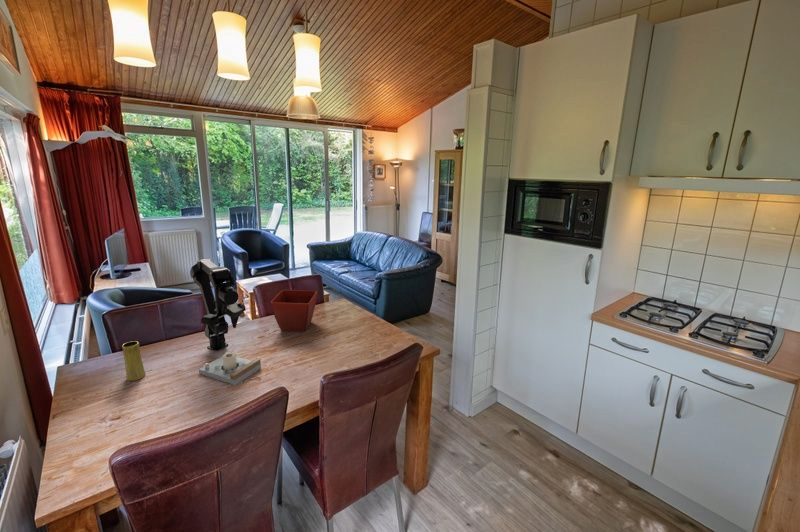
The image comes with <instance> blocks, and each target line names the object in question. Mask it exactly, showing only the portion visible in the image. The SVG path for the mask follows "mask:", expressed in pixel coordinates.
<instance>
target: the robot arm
mask: <svg viewBox="0 0 800 532" xmlns="http://www.w3.org/2000/svg"><path fill="white" fill-rule="evenodd" d="M189 274H190V277H191V279H192V280H193V283H194V284H196V285H197V286H198V287H199V290H200V294H201V297H202V300H203V303H204V308H205V310H206V314H205V315H203V316H202V317H200V323H201V324H204V325H205V328H204V330H203V332H204V337H206V338H207V339H208V340H209V345H208V346H207V347H206V348H207V349H210V350H213V351H216V352H217V351H220V350H221V349H224V348H225V347H227V346H229V343H227V342H226V338H225V334H228V333H229V323H228V322H227V320H226V317H225V316H228V317H230V321H231V325H232V327H233V329H236V328H237V325H238V322H239V318H240V317H241V315H242V314H244V312H245V311H246V305H245V304H244V303H243V302H240V303H239V302H238V300H239V298H240V297H239V293H238V292H237V291H236V290H234V288H233V286H235V285H236V284H235V278H234V276H233V274H232V272H231V270H230V269H229V268H227V267H226V266H225V267H224V266H219V265H217V264H216V263H214V262H212V260H211V259H210V258H205V259H199V260H197V261H196V263H195V264H194V265H192V266H191V268H190V270H189ZM212 287H213V288H212ZM213 291H214V292H213Z"/></svg>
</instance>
